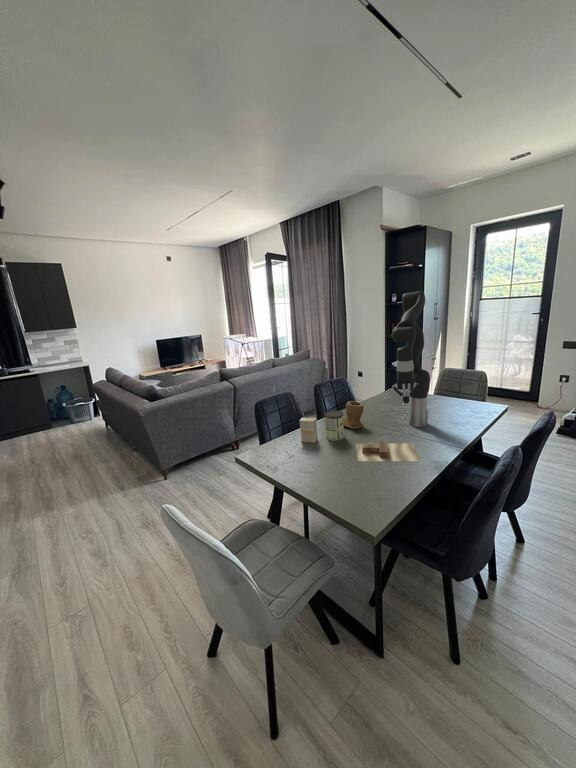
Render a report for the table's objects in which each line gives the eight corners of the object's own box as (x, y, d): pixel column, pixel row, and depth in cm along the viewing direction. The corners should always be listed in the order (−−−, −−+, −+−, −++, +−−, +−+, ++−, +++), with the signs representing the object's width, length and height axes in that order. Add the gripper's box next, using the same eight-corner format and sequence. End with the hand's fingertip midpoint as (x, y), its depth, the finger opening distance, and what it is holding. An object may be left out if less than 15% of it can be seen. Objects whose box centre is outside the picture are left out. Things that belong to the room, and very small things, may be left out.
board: (412, 445, 156) (412, 443, 156) (421, 463, 139) (421, 461, 139) (355, 445, 161) (355, 443, 161) (357, 462, 144) (357, 461, 143)
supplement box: (317, 439, 171) (316, 418, 168) (315, 443, 167) (313, 421, 164) (304, 438, 175) (302, 416, 171) (301, 442, 171) (299, 420, 167)
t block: (386, 446, 155) (386, 440, 154) (388, 457, 144) (388, 451, 143) (362, 445, 158) (362, 440, 157) (362, 457, 147) (362, 451, 146)
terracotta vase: (368, 425, 184) (367, 402, 180) (354, 431, 177) (354, 407, 174) (349, 419, 196) (348, 397, 192) (335, 425, 189) (334, 402, 185)
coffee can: (327, 432, 180) (326, 409, 176) (345, 433, 176) (344, 410, 173) (324, 440, 170) (322, 416, 167) (342, 441, 167) (341, 417, 163)
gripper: (417, 365, 149) (417, 399, 154) (389, 368, 151) (390, 401, 156) (421, 369, 142) (422, 404, 146) (392, 372, 144) (393, 406, 149)
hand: (406, 403), depth 151 cm, fingers closed
